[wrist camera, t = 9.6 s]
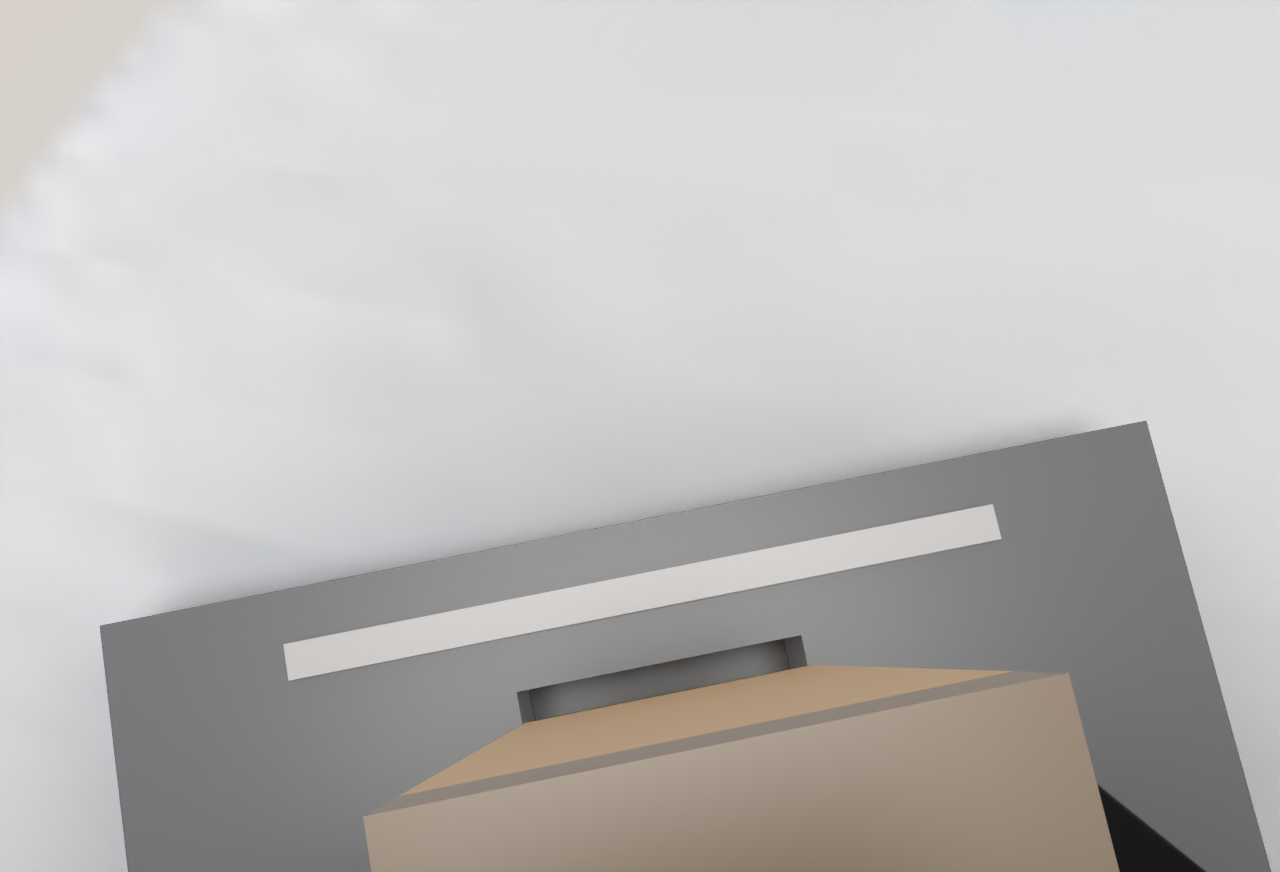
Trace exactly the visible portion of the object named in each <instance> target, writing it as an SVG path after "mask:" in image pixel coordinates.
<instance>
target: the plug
mask: <svg viewBox="0 0 1280 872" xmlns="http://www.w3.org/2000/svg"><path fill="white" fill-rule="evenodd" d="M363 819H364V826H365V832H366V839H367V846H368V852H369V859H370V865H371V872H1120V871H1119V868H1118V864H1117V860H1116V856H1115V852H1114V848H1113V844H1112V840H1111V836H1110V832H1109V828H1108V825H1107V821H1106V817H1105V813H1104V809H1103V805H1102V801H1101V797H1100V793H1099V789H1098V785H1097V782H1096V778H1095V774H1094V770H1093V766H1092V762H1091V758H1090V754H1089V750H1088V746H1087V742H1086V739H1085V735H1084V731H1083V727H1082V723H1081V719H1080V715H1079V711H1078V707H1077V703H1076V699H1075V696H1074V692H1073V688H1072V684H1071V680H1070V676H1069V673H1055V672H1024V671H993V670H961V669H930V668H899V667H867V666H836V665H810V666H805V667H800V668H795V669H790V670H785V671H780V672H775V673H770V674H765V675H760V676H755V677H750V678H745V679H740V680H735V681H730V682H725V683H720V684H715V685H710V686H706V687H701V688H696V689H691V690H686V691H681V692H676V693H671V694H666V695H661V696H656V697H651V698H646V699H641V700H636V701H631V702H626V703H621V704H616V705H611V706H606V707H601V708H596V709H591V710H587V711H582V712H577V713H572V714H567V715H562V716H557V717H552V718H547V719H542V720H537V721H532V722H527V723H524V724H523V725H521V726H519V727H518V728H516V729H514V730H512V731H511V732H509V733H507V734H505V735H504V736H502V737H500V738H498V739H497V740H495V741H493V742H492V743H490V744H488V745H486V746H485V747H483V748H481V749H479V750H478V751H476V752H474V753H472V754H471V755H469V756H467V757H466V758H464V759H462V760H460V761H459V762H457V763H455V764H453V765H452V766H450V767H448V768H446V769H445V770H443V771H441V772H440V773H438V774H436V775H434V776H433V777H431V778H429V779H427V780H426V781H424V782H422V783H420V784H419V785H417V786H415V787H414V788H412V789H410V790H408V791H407V792H405V793H403V794H401V795H400V796H398V797H396V798H394V799H393V800H391V801H389V802H388V803H386V804H384V805H382V806H381V807H379V808H377V809H375V810H374V811H372V812H370V813H368V814H367V815H365V816H363Z"/></svg>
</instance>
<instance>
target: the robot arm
mask: <svg viewBox="0 0 1280 872" xmlns="http://www.w3.org/2000/svg"><path fill="white" fill-rule="evenodd" d="M1097 785H1098V789H1099V793H1100V797H1101V801H1102V805H1103V809H1104V813H1105V817H1106V821H1107V825H1108V828H1109V832H1110V836H1111V840H1112V844H1113V848H1114V852H1115V856H1116V860H1117V864H1118V868H1119V871H1120V872H1208V871H1207V870H1206V869H1205V868H1203V867H1202V866H1201V865H1200V864H1198V863H1197V862H1196V861H1195V860H1193V859H1192V858H1191V857H1190V856H1188V855H1187V854H1186V853H1185V852H1183V851H1182V850H1181V849H1180V848H1178V847H1177V846H1176V845H1175V844H1173V843H1172V842H1171V841H1170V840H1168V839H1167V838H1166V837H1165V836H1163V835H1162V834H1161V833H1160V832H1158V831H1157V830H1156V829H1155V828H1153V827H1152V826H1151V825H1150V824H1148V823H1147V822H1146V821H1145V820H1143V819H1142V818H1141V817H1140V816H1138V815H1137V814H1136V813H1135V812H1133V811H1132V810H1131V809H1130V808H1128V807H1127V806H1126V805H1125V804H1123V803H1122V802H1121V801H1120V800H1118V799H1117V798H1116V797H1115V796H1113V795H1112V794H1111V793H1110V792H1108V791H1107V790H1106V789H1105V788H1103V787H1102V786H1101V785H1100V784H1098V783H1097Z"/></svg>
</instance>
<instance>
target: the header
mask: <svg viewBox="0 0 1280 872" xmlns="http://www.w3.org/2000/svg"><path fill="white" fill-rule="evenodd" d="M100 632H101V641H102V650H103V658H104V667H105V676H106V684H107V693H108V702H109V710H110V719H111V727H112V736H113V745H114V753H115V762H116V771H117V779H118V788H119V797H120V805H121V814H122V823H123V831H124V840H125V848H126V857H127V866H128V872H371V865H370V859H369V852H368V846H367V839H366V832H365V826H364V819H363V816H365V815H367V814H368V813H370V812H372V811H374V810H375V809H377V808H379V807H381V806H382V805H384V804H386V803H388V802H389V801H391V800H393V799H394V798H396V797H398V796H400V795H401V794H403V793H405V792H407V791H408V790H410V789H412V788H414V787H415V786H417V785H419V784H420V783H422V782H424V781H426V780H427V779H429V778H431V777H433V776H434V775H436V774H438V773H440V772H441V771H443V770H445V769H446V768H448V767H450V766H452V765H453V764H455V763H457V762H459V761H460V760H462V759H464V758H466V757H467V756H469V755H471V754H472V753H474V752H476V751H478V750H479V749H481V748H483V747H485V746H486V745H488V744H490V743H492V742H493V741H495V740H497V739H498V738H500V737H502V736H504V735H505V734H507V733H509V732H511V731H512V730H514V729H516V728H518V727H519V726H521V725H523V724H524V723H527V722H532V721H535V716H534V710H533V704H532V699H531V693H530V689H535V688H540V687H545V686H550V685H555V684H560V683H565V682H570V681H575V680H580V679H585V678H590V677H595V676H600V675H605V674H609V673H614V672H619V671H624V670H629V669H634V668H639V667H644V666H649V665H654V664H659V663H664V662H669V661H674V660H679V659H684V658H689V657H694V656H699V655H704V654H709V653H714V652H719V651H724V650H729V649H734V648H739V647H744V646H749V645H754V644H759V643H764V642H769V641H774V640H779V639H784V643H785V648H786V653H787V657H788V662H789V667H790V669H795V668H800V667H805V666H810V665H836V666H867V667H899V668H930V669H961V670H993V671H1024V672H1055V673H1069V676H1070V680H1071V684H1072V688H1073V692H1074V696H1075V699H1076V703H1077V707H1078V711H1079V715H1080V719H1081V723H1082V727H1083V731H1084V735H1085V739H1086V742H1087V746H1088V750H1089V754H1090V758H1091V762H1092V766H1093V770H1094V774H1095V778H1096V782H1097V783H1098V784H1100V785H1101V786H1102V787H1103V788H1105V789H1106V790H1107V791H1108V792H1110V793H1111V794H1112V795H1113V796H1115V797H1116V798H1117V799H1118V800H1120V801H1121V802H1122V803H1123V804H1125V805H1126V806H1127V807H1128V808H1130V809H1131V810H1132V811H1133V812H1135V813H1136V814H1137V815H1138V816H1140V817H1141V818H1142V819H1143V820H1145V821H1146V822H1147V823H1148V824H1150V825H1151V826H1152V827H1153V828H1155V829H1156V830H1157V831H1158V832H1160V833H1161V834H1162V835H1163V836H1165V837H1166V838H1167V839H1168V840H1170V841H1171V842H1172V843H1173V844H1175V845H1176V846H1177V847H1178V848H1180V849H1181V850H1182V851H1183V852H1185V853H1186V854H1187V855H1188V856H1190V857H1191V858H1192V859H1193V860H1195V861H1196V862H1197V863H1198V864H1200V865H1201V866H1202V867H1203V868H1205V869H1206V870H1207V871H1208V872H1271V869H1270V866H1269V862H1268V859H1267V855H1266V851H1265V848H1264V844H1263V841H1262V837H1261V833H1260V830H1259V826H1258V822H1257V819H1256V815H1255V812H1254V808H1253V804H1252V801H1251V797H1250V794H1249V790H1248V786H1247V783H1246V779H1245V776H1244V772H1243V768H1242V765H1241V761H1240V758H1239V754H1238V750H1237V747H1236V743H1235V740H1234V736H1233V732H1232V729H1231V725H1230V721H1229V718H1228V714H1227V711H1226V707H1225V703H1224V700H1223V696H1222V693H1221V689H1220V685H1219V682H1218V678H1217V675H1216V671H1215V667H1214V664H1213V660H1212V657H1211V653H1210V649H1209V646H1208V642H1207V638H1206V635H1205V631H1204V628H1203V624H1202V620H1201V617H1200V613H1199V610H1198V606H1197V602H1196V599H1195V595H1194V592H1193V588H1192V584H1191V581H1190V577H1189V574H1188V570H1187V566H1186V563H1185V559H1184V555H1183V552H1182V548H1181V545H1180V541H1179V537H1178V534H1177V530H1176V527H1175V523H1174V519H1173V516H1172V512H1171V509H1170V505H1169V501H1168V498H1167V494H1166V491H1165V487H1164V483H1163V480H1162V476H1161V473H1160V469H1159V465H1158V462H1157V458H1156V454H1155V451H1154V447H1153V444H1152V440H1151V436H1150V433H1149V429H1148V426H1147V422H1146V421H1143V422H1137V423H1132V424H1127V425H1122V426H1117V427H1112V428H1107V429H1102V430H1097V431H1091V432H1086V433H1081V434H1076V435H1071V436H1066V437H1061V438H1056V439H1051V440H1046V441H1040V442H1035V443H1030V444H1025V445H1020V446H1015V447H1010V448H1005V449H1000V450H995V451H989V452H984V453H979V454H974V455H969V456H964V457H959V458H954V459H949V460H943V461H938V462H933V463H928V464H923V465H918V466H913V467H908V468H903V469H898V470H892V471H887V472H882V473H877V474H872V475H867V476H862V477H857V478H852V479H846V480H841V481H836V482H831V483H826V484H821V485H816V486H811V487H806V488H801V489H795V490H790V491H785V492H780V493H775V494H770V495H765V496H760V497H755V498H750V499H744V500H739V501H734V502H729V503H724V504H719V505H714V506H709V507H704V508H698V509H693V510H688V511H683V512H678V513H673V514H668V515H663V516H658V517H653V518H647V519H642V520H637V521H632V522H627V523H622V524H617V525H612V526H607V527H601V528H596V529H591V530H586V531H581V532H576V533H571V534H566V535H561V536H556V537H550V538H545V539H540V540H535V541H530V542H525V543H520V544H515V545H510V546H505V547H499V548H494V549H489V550H484V551H479V552H474V553H469V554H464V555H459V556H453V557H448V558H443V559H438V560H433V561H428V562H423V563H418V564H413V565H408V566H402V567H397V568H392V569H387V570H382V571H377V572H372V573H367V574H362V575H357V576H351V577H346V578H341V579H336V580H331V581H326V582H321V583H316V584H311V585H305V586H300V587H295V588H290V589H285V590H280V591H275V592H270V593H265V594H260V595H254V596H249V597H244V598H239V599H234V600H229V601H224V602H219V603H214V604H208V605H203V606H198V607H193V608H188V609H183V610H178V611H173V612H168V613H163V614H157V615H152V616H147V617H142V618H137V619H132V620H127V621H122V622H117V623H112V624H106V625H101V626H100Z"/></svg>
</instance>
